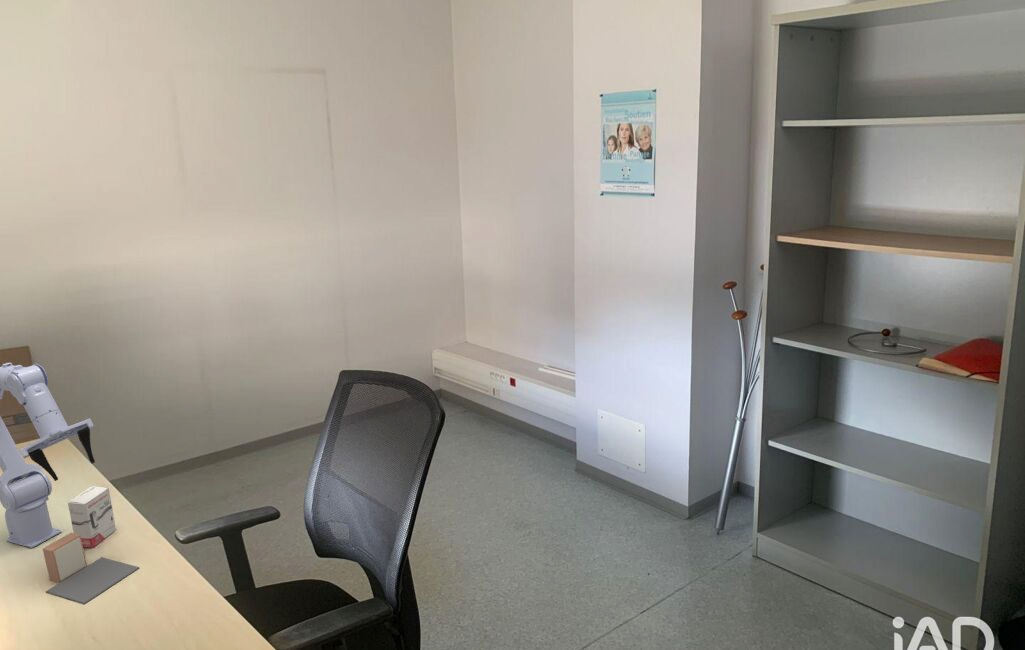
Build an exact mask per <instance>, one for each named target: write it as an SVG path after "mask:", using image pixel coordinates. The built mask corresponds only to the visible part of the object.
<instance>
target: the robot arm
mask: <svg viewBox="0 0 1025 650" xmlns="http://www.w3.org/2000/svg"><path fill="white" fill-rule="evenodd" d="M48 386H49V379H48V375H47V372H46V370H45V368H44V367H43V366H41V365H40V364H38V363H34V364H32V365H30V366H23V365H21V364H18V365H13V363H12V362H6V363H3V364H2V366H0V400H2V399H3V395H4V391H7V392H8V391H9V392H10V394H11V395H12V397H14V398H15V399H16V400H17V402H18V404H19V405H22V406H23V407H24V409H25V411H26V414H27V415H28V417H29V419H30V421H31V423H32V424H33V427H34V429H35V430H36V432H37V434H38V437H40V438H39V439H37V440H35V441H34V442H32V443H30V444H28V445H26V446H24V447H21V448H18V447H17V444H16V442H15V441H14V439H13V437H12V435H11V433H10V431H9V430H8V428H7V426H6V423H5V421H4V420H3V418H2V416H1V415H0V469H1V471H2V473H1V474H0V504H1V506H2V507H3V508H4V509H5V512H4V519H5V523H6V526H7V527H6V528H7V531H8V535H9V537H8V538H6V542H9V543H13V544H15V545H19V546H20V545H21V546H24V547H27V548H31V549H32V548H35V547H36V546H38V545H40V544H43V543H44V542H45V541H47V540H49V539H51V538H53V537H55V536H57V535H58V534H60V533H62V530H61V529H60V528H55V527H53V526H52V525H53V524H52V521H51V517H50V516H51V515H50V511H49V507H48V505H47V501H49V496H50V495H52V494H51V493H52V490H53V486H52V481H51V480H50V478H49V476H48V475H47V474H45V472H47V473H48V474H49V475H50V477H51V478H52V479H53V481H55V482H57V481H59V478H58V476H57V473H56V472H55V470H54V469H53V468H52V466H51V465H50V463H49V460H48V459H47V457H46V455H45V453H44V451H43V450H45V449H48V448H49V447H52V446H54V445H57V444H58V443H61V442H63V441H66V440H68V439H69V438H72V437H74V436H76V435H77V437H78V440H79V442H80V444H81V445H82V448H83V449H84V451H85V453H86V455H87V457H88V459H89V462H90V464H91V465H92V464H94V463H95V462H96V461H95V458H94V455H93V452H92V446H91V445H92V444H91V429H93V428H95V426H94V423H93V421H92V419H91V418H86V419H85V420H82V421H80V422H77V423H74V424H71V425H68V423H67V421H66V420H65V417H64V416H63V414H62V412H61V410H60V408H59V406H58V404H57V403H56V400H55V399H54V397H53V395H52V393H51V391H50V390H49V389H50V388H49V387H48ZM27 458H30V459H31V461H33V462H34V463H36V464H33V463H29V462H26V461H25V459H27ZM42 469H44V470H45V472H44V471H43V470H42Z"/></svg>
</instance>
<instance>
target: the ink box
mask: <svg viewBox="0 0 1025 650" xmlns="http://www.w3.org/2000/svg"><path fill="white" fill-rule="evenodd" d="M111 499H112V498H111V494H110V487H106V486H96V485H92V486H90V487H88V488H86V489H85V490H83V491H82V492H80V493H79V494H77V495H76V496H74V497H73V498H71V499H69V500H68V502H67V505H68V511H69V518H70V521H71V526H72V531H73V532H72V533H75V534H79V535H80V536H81V540H82V545H83V548H95V547H96V546H97V545H99V544H100V543H101V542H102V541H103V540H105V539H106V538H107V537H109V536H110V535H111V534H113V533H114V532H115V531H117V525H116V521H115V516H114V515H115V514H114V510H113V504H112V500H111Z"/></svg>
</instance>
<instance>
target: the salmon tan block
mask: <svg viewBox="0 0 1025 650" xmlns="http://www.w3.org/2000/svg"><path fill="white" fill-rule="evenodd" d="M42 552H43V553H42V554H43V557H44V561H45V564H46V569H47V574H48V578H49V580H50V581H51V582H54V583H57V584H58V583H60V582H62V581H63V580H65V579H67V578H68V577H70V576H72V575H73V574H75V573H76V572H78V571H80V570H81V569H83V568H85V567H86V566H88V563H87V559H86V555H85V549H84V547H83V545H82V540H81V536H80V535H79V534H75V533H74V532H69V533H68V534H66V535H65V536H62V537H61V538H59V539H57V540H55V541H53V542H51V543H50V544H48V545H46V546H44V547H42Z"/></svg>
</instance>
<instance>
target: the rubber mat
mask: <svg viewBox="0 0 1025 650" xmlns="http://www.w3.org/2000/svg"><path fill="white" fill-rule="evenodd" d="M139 569H140V566H137V565H132V564H129V563H125V562H122V561H118V560H115V559H111V558H106V557H104V556H103V557H102V556H101V557H99V558H98V559H96V560H94V561H93V562H92V563H90V564H87V566H86V567H85V568H83V569H81V570H80V571H78V572H76V573H75V574H73V575H72V576H70V577H68V578H67V579H65V580H63V581H62V582H60V583H57V584H56V585H54V586H52V587H50V588H49V589H47V590H45V593H46V594H50V595H53V596H56V597H60V598H63V599H66V600H69V601H72V602H74V603H75V602H76V603H79V604H82V605H86V604H88V603H89V602H90V601H92V600H93V599H95V598H97V597H98V596H100V595H101V594H103V593H104V592H106V591H107V590H109V589H110V588H112V587H113V586H115V585H117V584H118V583H120V582H121V581H122V580H124V579H125V578H127V577H129V576H130V575H132V574H133V573H134V571H135V572H136V571H137V570H139ZM128 575H129V576H128Z"/></svg>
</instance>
